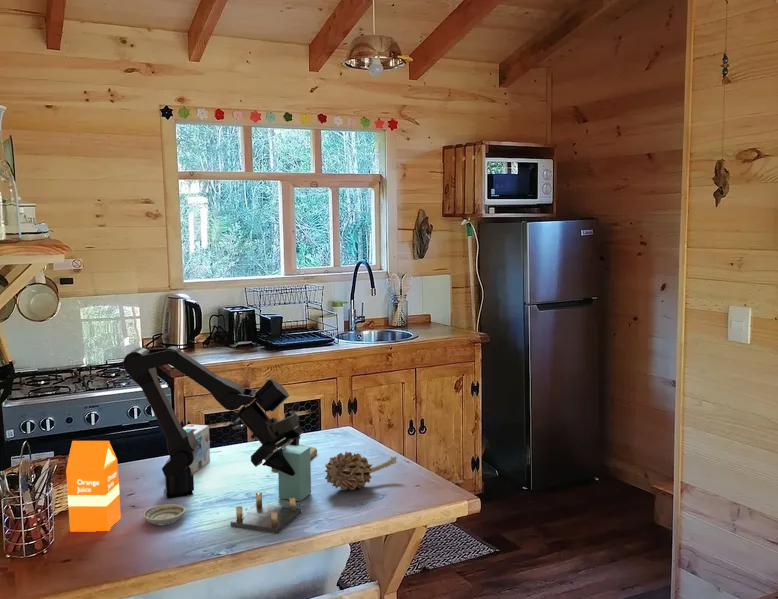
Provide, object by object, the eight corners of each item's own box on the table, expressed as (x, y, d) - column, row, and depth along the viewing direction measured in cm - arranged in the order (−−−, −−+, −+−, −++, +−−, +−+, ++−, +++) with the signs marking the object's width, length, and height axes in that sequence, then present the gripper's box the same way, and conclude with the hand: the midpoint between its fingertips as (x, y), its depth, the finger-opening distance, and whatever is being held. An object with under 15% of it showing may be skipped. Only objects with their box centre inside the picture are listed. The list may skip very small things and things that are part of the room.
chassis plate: (277, 533, 167) (276, 515, 167) (230, 526, 171) (230, 509, 171) (301, 513, 178) (301, 496, 178) (257, 507, 182) (256, 490, 182)
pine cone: (338, 501, 185) (337, 463, 184) (316, 490, 193) (316, 453, 191) (406, 480, 199) (405, 444, 198) (383, 471, 206) (383, 436, 205)
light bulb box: (194, 473, 206) (192, 435, 205) (172, 472, 208) (170, 434, 207) (211, 460, 217) (209, 424, 216) (189, 459, 218) (188, 423, 217)
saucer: (187, 511, 181) (186, 501, 181) (185, 527, 172) (185, 517, 171) (145, 515, 179) (144, 505, 178) (141, 531, 169) (140, 521, 169)
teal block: (300, 501, 185) (299, 454, 184) (278, 498, 187) (277, 451, 186) (311, 492, 191) (310, 447, 189) (290, 489, 193) (289, 444, 191)
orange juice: (84, 517, 177) (79, 435, 175) (121, 517, 177) (116, 435, 175) (69, 531, 169) (63, 446, 167) (107, 532, 169) (102, 446, 167)
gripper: (260, 413, 179) (303, 463, 176) (295, 395, 196) (335, 440, 194) (232, 442, 182) (274, 491, 180) (270, 421, 200) (308, 466, 197)
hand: (299, 470), depth 188 cm, fingers closed on teal block, 6 cm apart
